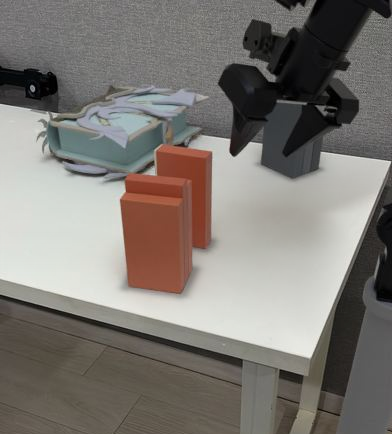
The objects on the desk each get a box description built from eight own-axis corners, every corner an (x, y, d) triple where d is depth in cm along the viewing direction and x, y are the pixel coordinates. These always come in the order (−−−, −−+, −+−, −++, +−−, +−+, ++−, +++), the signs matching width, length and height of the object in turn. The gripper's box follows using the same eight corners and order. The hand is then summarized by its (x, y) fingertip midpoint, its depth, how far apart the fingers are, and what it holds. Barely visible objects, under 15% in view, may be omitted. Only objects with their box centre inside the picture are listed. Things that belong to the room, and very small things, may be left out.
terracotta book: (211, 240, 80) (212, 151, 72) (205, 249, 78) (205, 158, 70) (165, 232, 82) (161, 143, 74) (158, 240, 80) (153, 150, 72)
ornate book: (122, 121, 121) (26, 166, 100) (118, 73, 115) (15, 110, 94) (214, 139, 112) (130, 192, 92) (216, 88, 106) (126, 132, 86)
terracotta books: (192, 269, 75) (191, 171, 66) (181, 294, 70) (178, 192, 61) (142, 262, 76) (135, 165, 67) (128, 286, 72) (118, 186, 63)
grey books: (318, 169, 99) (330, 84, 90) (292, 178, 96) (302, 92, 87) (286, 155, 104) (294, 74, 95) (260, 164, 101) (266, 81, 92)
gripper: (340, 8, 69) (278, 118, 80) (225, -22, 58) (171, 110, 69) (395, 62, 65) (320, 171, 76) (281, 41, 54) (214, 171, 65)
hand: (259, 155), depth 72 cm, fingers open, 9 cm apart
